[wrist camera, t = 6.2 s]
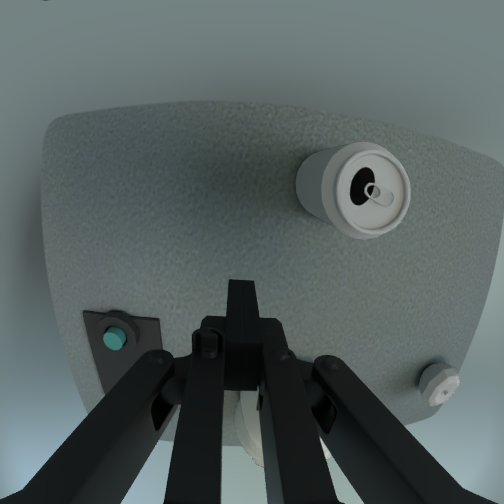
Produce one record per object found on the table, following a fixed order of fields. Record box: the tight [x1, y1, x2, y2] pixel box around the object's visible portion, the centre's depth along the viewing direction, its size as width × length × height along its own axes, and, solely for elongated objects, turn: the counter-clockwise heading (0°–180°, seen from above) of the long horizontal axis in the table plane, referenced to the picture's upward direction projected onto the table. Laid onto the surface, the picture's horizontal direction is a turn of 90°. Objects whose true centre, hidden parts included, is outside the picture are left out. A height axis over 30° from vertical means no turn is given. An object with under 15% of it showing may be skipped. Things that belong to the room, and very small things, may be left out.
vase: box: [235, 389, 331, 468], centre depth 30 cm, size 14×14×13 cm
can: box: [295, 142, 410, 239], centre depth 24 cm, size 8×8×12 cm
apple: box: [419, 363, 460, 407], centre depth 35 cm, size 8×8×7 cm
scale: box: [83, 310, 163, 395], centre depth 33 cm, size 17×11×2 cm, turn 177°
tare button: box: [103, 326, 126, 350], centre depth 30 cm, size 3×3×2 cm
